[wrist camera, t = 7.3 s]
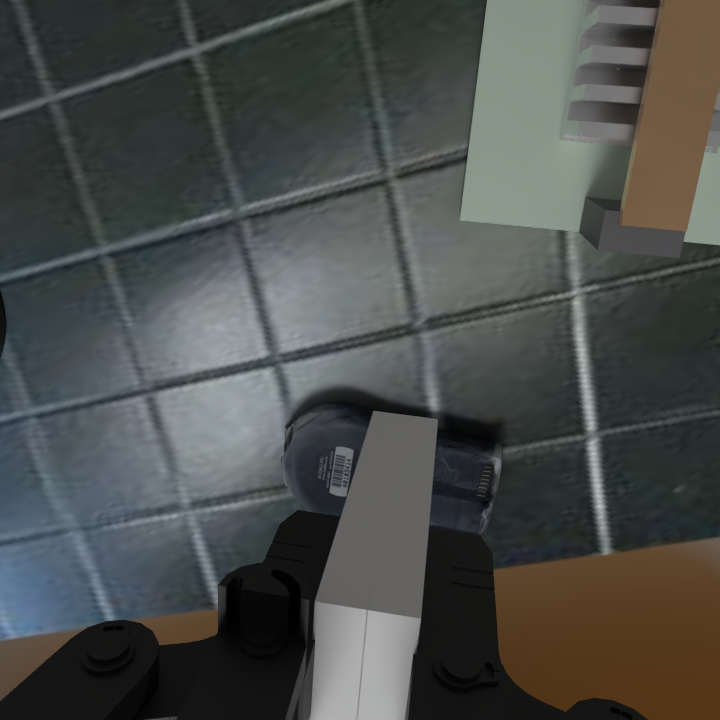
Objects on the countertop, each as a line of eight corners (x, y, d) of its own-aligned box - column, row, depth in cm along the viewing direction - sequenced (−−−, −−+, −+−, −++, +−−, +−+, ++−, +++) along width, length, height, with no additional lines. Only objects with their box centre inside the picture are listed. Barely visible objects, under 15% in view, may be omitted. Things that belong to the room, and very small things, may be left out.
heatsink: (559, 139, 38) (575, 143, 32) (586, -20, 35) (608, -46, 30) (706, 151, 37) (748, 157, 32) (746, -12, 34) (800, -36, 29)
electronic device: (500, 410, 47) (288, 386, 47) (514, 458, 42) (278, 432, 42) (473, 510, 52) (280, 490, 51) (484, 564, 47) (270, 542, 46)
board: (459, 217, 41) (458, 246, 32) (503, -129, 35) (517, -219, 26) (766, 246, 39) (860, 286, 30) (870, -116, 33) (1030, -207, 24)
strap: (601, 221, 33) (606, 224, 32) (666, -125, 28) (675, -137, 27) (695, 230, 32) (703, 233, 31) (775, -121, 28) (789, -133, 27)
